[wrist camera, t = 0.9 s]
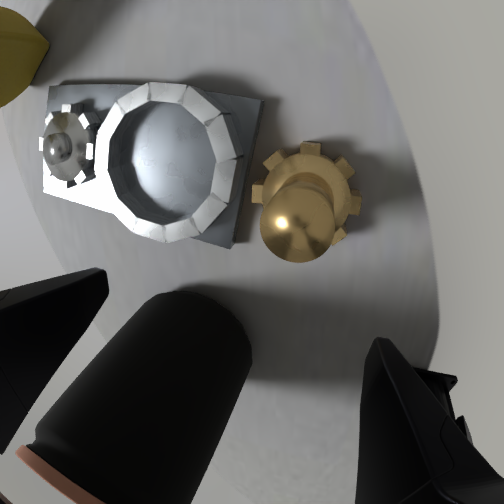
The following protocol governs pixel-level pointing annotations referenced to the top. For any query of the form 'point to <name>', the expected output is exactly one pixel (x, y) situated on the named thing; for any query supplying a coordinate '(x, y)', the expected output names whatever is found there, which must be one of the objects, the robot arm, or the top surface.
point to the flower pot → (18, 54)
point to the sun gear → (70, 145)
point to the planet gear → (305, 202)
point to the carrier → (166, 157)
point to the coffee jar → (146, 407)
